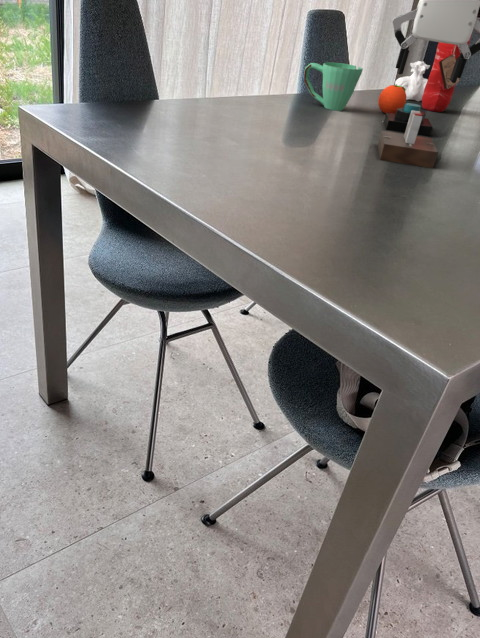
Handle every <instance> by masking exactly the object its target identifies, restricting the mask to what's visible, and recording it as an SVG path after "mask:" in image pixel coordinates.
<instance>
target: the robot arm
mask: <svg viewBox="0 0 480 638" xmlns="http://www.w3.org/2000/svg"><path fill="white" fill-rule="evenodd" d="M479 10H480V0H419V1H418V3H417V6H416V9H414V10H411V11H408V12H405V13H403V14H400V15H398V16H395V17H393V18H392V20H391V21H392V28H393V34H394V38H395V39H396V41H397V43H398V44H399V47H400V50H399V53H398V57H397V60H396V64H395V69H397V74H398V75H403V74H404V72H405V68H406V65H407V60H408V57H409V54H410V50H409V48H410V46H411V45H412V44H414V43H415V42H416V41H417V40H418V39H419V40H423V41H428V42H436V43H439V42H441V43H448V44H455V45H458V48H459V50H460V56H459V57H457V59H456V62H455V65H454V68H453V71H452V74H451V77H450V81H451V82H452V83H456V81H457V78H459V79H461V78H462V75H463V73H464V70H465V68H466V67H465V66H466V64H467V61H468V60H469V59H470V58H471V57H472V56H473V55H475V54H476V53H478V52H480V38H478V39H477V41H476V42H475V43H473V44H472V45H469V46H468V44H467V42H468V41H469V39H470V37H471V38H472V36H471V34H472V35H473V32H474V30H475V31H476V32H477V33H478V34H480V20H479V18H478V14H479ZM408 21H411V26H410V33H409V34H408V35H407V36H406V37H405V36H404V33H403V31H402V24H404V23H406V22H408ZM456 84H457V83H456Z"/></svg>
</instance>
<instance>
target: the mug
mask: <svg viewBox="0 0 480 638" xmlns="http://www.w3.org/2000/svg"><path fill="white" fill-rule="evenodd" d="M311 69H313V70H317V72H319V73H321V74H322V88H321V89H322V96H321V95H320V94H318V93H317V92H315V90H314V87H313V85H312V83H311V80H310V79H309V78H310V77H309V76H310V71H311ZM363 70H364V69H363V67H361V66H358V68H357V66H356V65H353V64H348V63H343V62H342V63H340V62H331V61H329V62H324V63H323V65H321V64H319V63H317V62H310V63H309V64H308V65H306V66H305V67H304V74H303V75H304V77H303V83H304V84H305V86H306V88H307V90H308V92H309V94H310V96H311V97H312V98H314V99H315V100H316V101H318V102H319V103H320V104H322V106H323V108H325V109H327V110H330V111H337V112H339V111H340V112H342V111H344V109H345V107H346V106H347V105H348V103H349V101H350V99H351V97H352V96H353V94H354V92H355V89H356V87H357V84H358V82H359V80H360V77H361V75H362V73H363Z"/></svg>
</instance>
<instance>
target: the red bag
mask: <svg viewBox="0 0 480 638" xmlns="http://www.w3.org/2000/svg"><path fill="white" fill-rule="evenodd" d="M472 36H473V33H472V34H471V37H470V39H469V41H468V42H467V44H468V47H470V42H471V40H472ZM437 43H438V44H437V47H436V52H435V56H434V60H433V64H432V67H431V70H430V73H429V76H428V78H427V79H428V81H427V84H426V86H425V89H424V93H423V96H422V101H421V108H422V109H423V110H425V111H428V112H432V113H442V112H444V111H446V109H447V108H448V107H449V105H450V103H451V101H452V98H453V94H454V91H455V88H456V84H458V83H459V82H460V78H457V81H456V83H452V82H451V81H450V77H451V74H452V71H453V68H454V65H455V62H456V59H457V57H459V56H460V50H459V48H458V45H455V44H448V43H441V42H437Z"/></svg>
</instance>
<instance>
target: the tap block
mask: <svg viewBox="0 0 480 638" xmlns="http://www.w3.org/2000/svg"><path fill="white" fill-rule="evenodd" d="M404 134H405V133H402V132H395V131H389V130H381V132H380V136H379V139H378V143H377V149H378V155H379V160H380V161H385V162H391V163H397V164H403V165H409V166H417V167H422V168H428V169H434V167H435V163H436V160H437V157H438V155H439V152H438V149H437V147H436V145H435V143H434V141H433V139H432V137H428V136H421V135H417V136H416V140H415V143H414V144H408V143H406V142H405V139H404Z"/></svg>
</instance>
